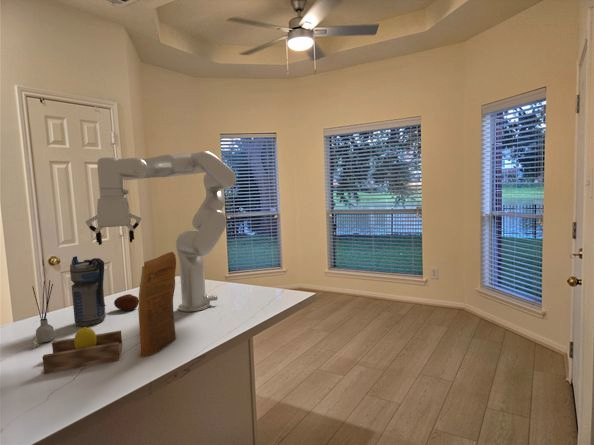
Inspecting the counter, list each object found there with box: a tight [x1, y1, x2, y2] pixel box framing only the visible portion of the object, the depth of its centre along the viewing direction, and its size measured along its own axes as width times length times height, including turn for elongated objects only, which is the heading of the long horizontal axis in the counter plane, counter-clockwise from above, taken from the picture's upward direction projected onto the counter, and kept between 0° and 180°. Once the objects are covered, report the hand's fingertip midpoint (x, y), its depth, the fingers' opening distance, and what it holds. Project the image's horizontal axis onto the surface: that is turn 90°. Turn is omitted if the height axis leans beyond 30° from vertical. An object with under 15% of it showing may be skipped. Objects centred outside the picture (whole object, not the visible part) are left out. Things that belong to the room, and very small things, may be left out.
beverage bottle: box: [69, 255, 107, 327], centre depth 135 cm, size 10×13×25 cm
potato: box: [113, 293, 139, 311], centre depth 150 cm, size 7×9×6 cm
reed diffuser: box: [29, 280, 55, 349], centre depth 117 cm, size 10×7×20 cm
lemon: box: [74, 326, 96, 349], centre depth 104 cm, size 6×6×8 cm
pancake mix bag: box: [137, 251, 177, 358], centre depth 110 cm, size 7×19×28 cm, turn 165°
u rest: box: [41, 330, 123, 375], centre depth 104 cm, size 18×12×5 cm, turn 112°
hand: (116, 243), depth 126 cm, fingers open, 9 cm apart
